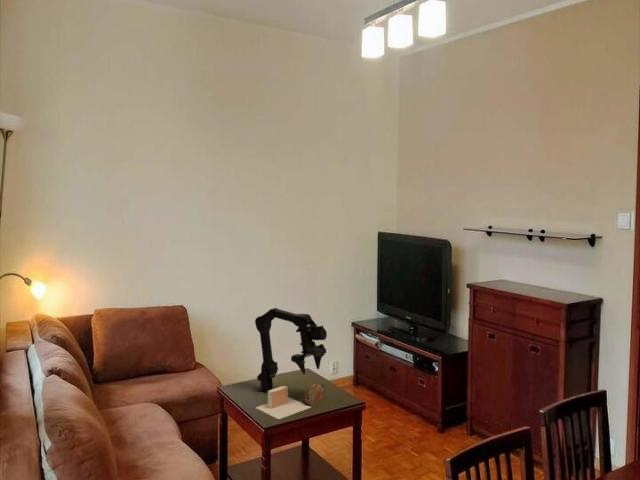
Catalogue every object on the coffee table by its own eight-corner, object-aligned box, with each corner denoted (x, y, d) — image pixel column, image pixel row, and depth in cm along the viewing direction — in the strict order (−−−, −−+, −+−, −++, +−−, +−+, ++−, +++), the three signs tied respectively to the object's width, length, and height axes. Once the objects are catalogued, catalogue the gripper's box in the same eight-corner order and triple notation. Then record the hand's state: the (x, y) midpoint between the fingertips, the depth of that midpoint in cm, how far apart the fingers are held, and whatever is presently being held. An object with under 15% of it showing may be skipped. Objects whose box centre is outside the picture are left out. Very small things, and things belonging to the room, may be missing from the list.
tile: (268, 406, 255) (267, 390, 255) (284, 401, 262) (284, 385, 261) (271, 408, 253) (271, 392, 253) (288, 403, 260) (287, 387, 259)
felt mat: (255, 408, 255) (255, 407, 255) (287, 397, 268) (287, 396, 268) (278, 420, 241) (278, 419, 241) (311, 407, 255) (311, 407, 255)
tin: (308, 407, 256) (308, 390, 255) (303, 406, 257) (303, 389, 257) (324, 397, 269) (324, 381, 268) (319, 396, 270) (319, 379, 269)
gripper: (303, 345, 250) (307, 378, 250) (331, 336, 263) (336, 368, 263) (288, 344, 258) (292, 376, 258) (316, 335, 271) (320, 366, 271)
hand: (311, 371), depth 262 cm, fingers open, 9 cm apart
